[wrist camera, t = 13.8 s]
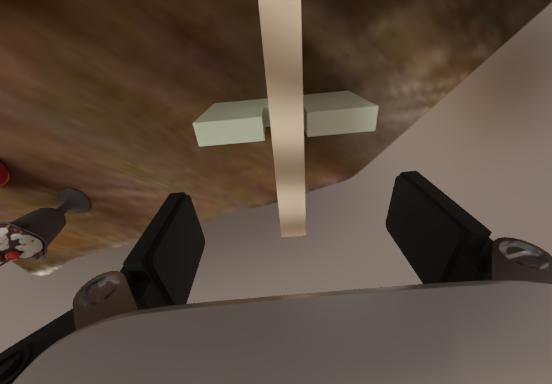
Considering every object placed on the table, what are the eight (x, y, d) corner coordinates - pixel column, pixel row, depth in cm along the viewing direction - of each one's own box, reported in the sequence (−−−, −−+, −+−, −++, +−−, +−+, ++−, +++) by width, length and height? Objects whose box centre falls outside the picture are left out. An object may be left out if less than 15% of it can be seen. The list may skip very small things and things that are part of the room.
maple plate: (264, 25, 26) (258, -2, 13) (285, 23, 26) (300, -7, 13) (277, 166, 36) (281, 237, 22) (292, 165, 36) (306, 235, 22)
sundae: (101, 197, 38) (17, 270, 26) (89, 221, 41) (6, 298, 28) (58, 175, 36) (-59, 243, 23) (48, 202, 39) (-62, 277, 26)
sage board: (214, 103, 31) (192, 123, 22) (348, 90, 30) (378, 105, 22) (218, 121, 32) (198, 146, 23) (346, 109, 31) (375, 130, 23)
